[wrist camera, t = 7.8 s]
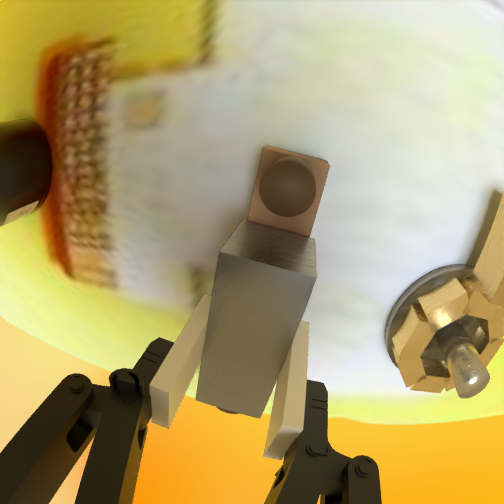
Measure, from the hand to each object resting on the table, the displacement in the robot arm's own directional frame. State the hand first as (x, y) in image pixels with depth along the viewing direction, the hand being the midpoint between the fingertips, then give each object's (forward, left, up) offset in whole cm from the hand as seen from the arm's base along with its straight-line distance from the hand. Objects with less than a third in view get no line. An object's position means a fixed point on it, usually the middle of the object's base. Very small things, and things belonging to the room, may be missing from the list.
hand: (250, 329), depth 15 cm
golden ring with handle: (+14, +3, -4) cm, 15 cm away
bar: (0, 0, -3) cm, 3 cm away
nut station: (+14, 0, -6) cm, 16 cm away
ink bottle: (-24, +4, -6) cm, 25 cm away
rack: (0, 0, -6) cm, 6 cm away
